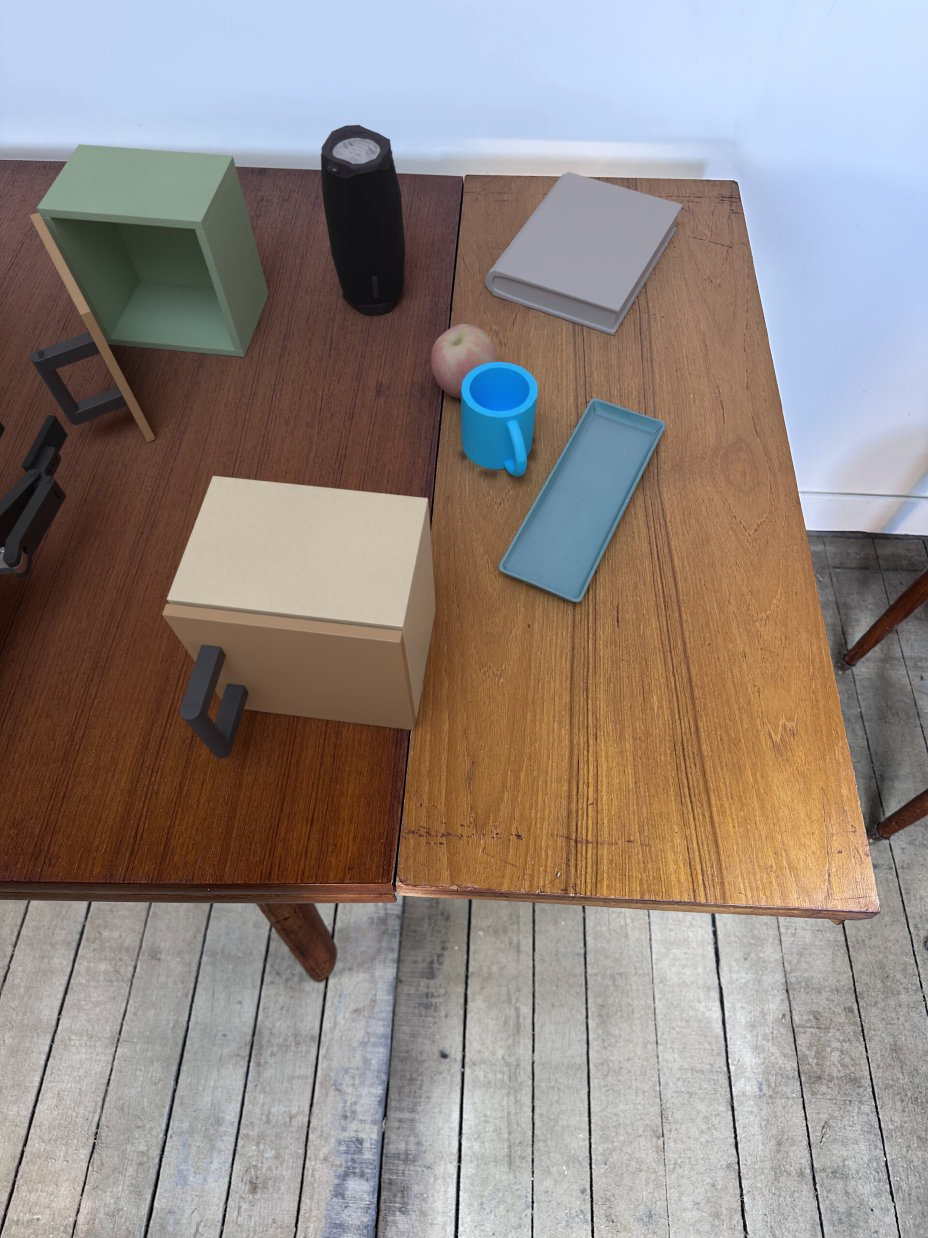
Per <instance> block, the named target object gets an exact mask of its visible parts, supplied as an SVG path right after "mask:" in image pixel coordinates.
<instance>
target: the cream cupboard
mask: <svg viewBox="0 0 928 1238" xmlns="http://www.w3.org/2000/svg"><path fill="white" fill-rule="evenodd" d="M429 505H430V503H429V498H428V497H421V496H411V495H410V496H409V495H401V494H391V493H383V492H372V491H364V490H354V489H344V488H334V487H325V486H317V485H316V486H315V485H306V484H305V485H304V484H296V483H286V482H278V481H277V482H275V481H269V480H257V479H249V478H239V477H230V476H229V477H228V476H218V475H213V476H212V478H211V480H210V483H209V485H208V488H207V490H206V494H205V496H204V498H203V501H202V504H201V506H200V509H199V512H198V515H197V517H196V520H195V523H194V525H193V528H192V531H191V533H190V536H189V539H188V541H187V544H186V546H185V549H184V552H183V555H182V558H181V560H180V562H179V565H178V568H177V571H176V574H175V576H174V578H173V581H172V584H171V587H170V589H169V592H168V593H167V597H166V600H167V602H168V604H174V605H182V606H191V607H200V608H208V609H217V610H225V611H234V612H243V613H251V614H260V615H269V616H277V617H286V618H294V619H303V620H312V621H320V622H329V623H337V624H346V625H355V626H363V627H372V628H381V629H389V630H398V631H402V632H403V638H404V645H405V651H406V658H407V665H408V671H409V678H410V684H411V691H412V697H413V704H414V711H415V717H416V720H417V718H418V714H419V708H420V703H421V697H422V691H423V685H424V681H425V675H426V668H427V663H428V657H429V651H430V645H431V640H432V634H433V629H434V628H433V627H434V622H435V617H436V611H437V608H436V607H437V606H436V594H435V593H436V592H435V576H434V563H433V548H432V533H431V519H430V507H429Z"/></svg>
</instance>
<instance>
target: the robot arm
mask: <svg viewBox="0 0 928 1238" xmlns="http://www.w3.org/2000/svg"><path fill="white" fill-rule="evenodd" d="M5 430H6V427H5V426H4V425H3V423H2V422H1V421H0V439H1V438H2V436H3V435H4V432H5ZM68 435H69V434H68V432H67V431H66V429H65V428H64V426H63V425H62V424H61V422H60V421H59V419H58V418H57V416H56V415H52V414H48V415H47V417H46V418H45V420H44V422H43V424H42V426H41V427H40V430H39V431H38V433H37V435H36V437H35V438H34V441H33V442H32V444H31V447H30V448H29V450H28V452H27V454H26V456H25V458H24V459H23V461H22V463H21V468H22V469H23V471H24V472H25V473H24V475H23V476H22V477H20V478H19V480H18V481H17V482H16V483H15V484H14V485H13V486H12V487H11V488H10V489H9V490H8V491H7V493H5V494H4V495H3V497H2V498H1V499H0V575H7V574H15V575H16V576H17V577H18V578H19V579H24V578H27V577H28V576H29V575H30V574H31V571H32V564H33V556H34V555H35V553H36V551H37V549H38V548H39V546H40V545H41V543H42V541H43V539H44V537H45V536H46V533H48V530H49V529H50V527H51V525H52V522H53V521H54V519H55V517H56V516H57V514H58V513H59V511H60V509H61V507H62V506H63V504H64V501H65V500H66V497H67V494H66V493H65V491H64V490H63V488H62V487H61V485H60V484H59V483H58V481H57V480H56V478H55V477H54V476H55V474H56V472H57V470H58V469H59V466H60V464H61V462H62V456H61V454H60V452H61V449H62V448H63V446H64V443H65V441H66V440H67V437H68Z"/></svg>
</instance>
